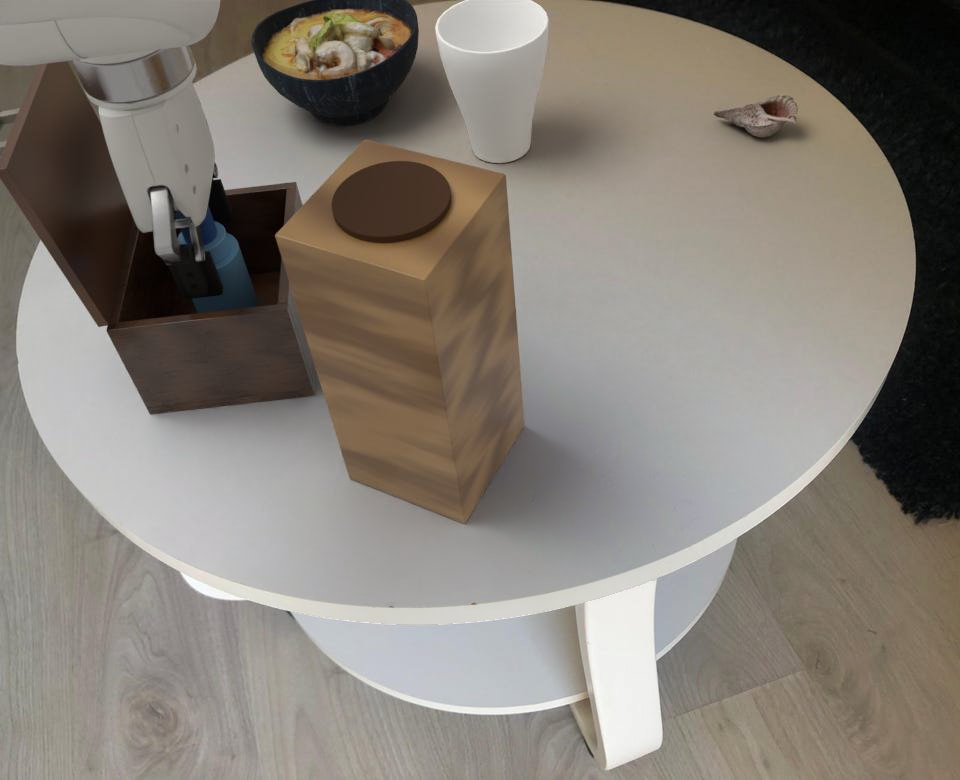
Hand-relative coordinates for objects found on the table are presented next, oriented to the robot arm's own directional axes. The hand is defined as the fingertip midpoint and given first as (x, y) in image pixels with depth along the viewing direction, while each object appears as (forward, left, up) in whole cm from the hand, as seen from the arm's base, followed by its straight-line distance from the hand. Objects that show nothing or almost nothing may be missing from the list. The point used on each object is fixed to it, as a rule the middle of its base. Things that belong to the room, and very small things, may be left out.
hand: (209, 256), depth 79 cm
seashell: (+45, -32, -9) cm, 56 cm away
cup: (+33, -9, -9) cm, 35 cm away
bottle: (0, 0, -8) cm, 8 cm away
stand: (-4, -22, -9) cm, 24 cm away
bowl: (+34, +10, -9) cm, 37 cm away
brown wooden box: (0, 0, -9) cm, 9 cm away
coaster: (-4, -22, +15) cm, 27 cm away
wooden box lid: (-4, +6, +8) cm, 11 cm away
